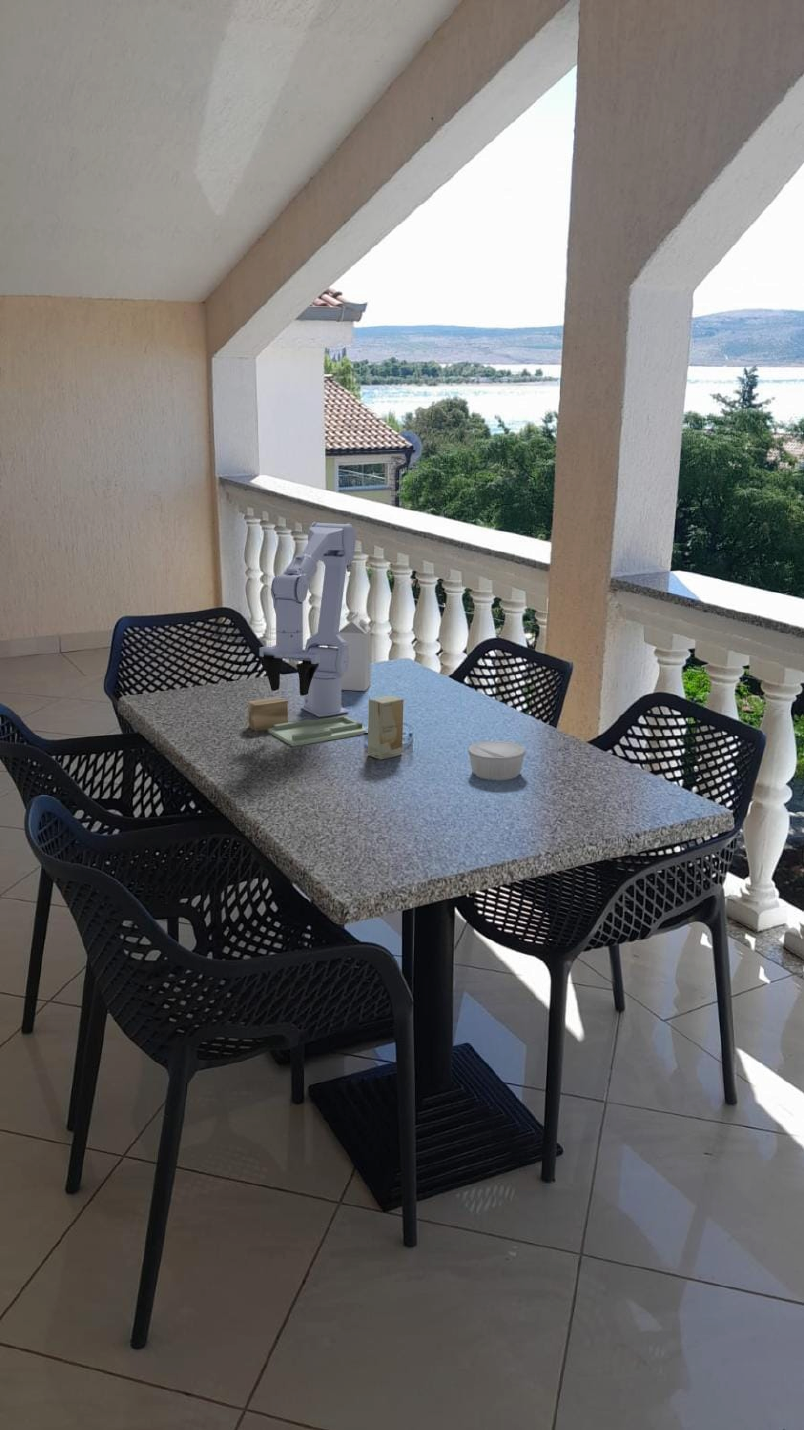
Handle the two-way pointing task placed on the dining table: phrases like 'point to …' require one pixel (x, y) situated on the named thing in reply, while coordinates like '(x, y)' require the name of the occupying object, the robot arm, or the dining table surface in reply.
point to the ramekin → (496, 760)
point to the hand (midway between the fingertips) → (289, 692)
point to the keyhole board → (317, 730)
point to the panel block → (267, 713)
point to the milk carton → (357, 655)
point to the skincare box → (385, 727)
